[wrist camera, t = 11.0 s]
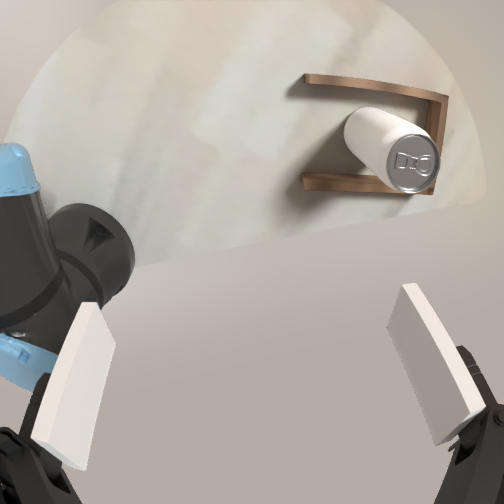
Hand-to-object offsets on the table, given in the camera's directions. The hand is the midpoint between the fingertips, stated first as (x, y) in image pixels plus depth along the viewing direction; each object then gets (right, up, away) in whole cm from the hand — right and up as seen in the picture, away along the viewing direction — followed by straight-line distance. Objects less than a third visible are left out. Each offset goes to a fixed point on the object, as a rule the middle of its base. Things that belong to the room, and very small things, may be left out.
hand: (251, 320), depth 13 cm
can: (+14, +17, +21) cm, 30 cm away
